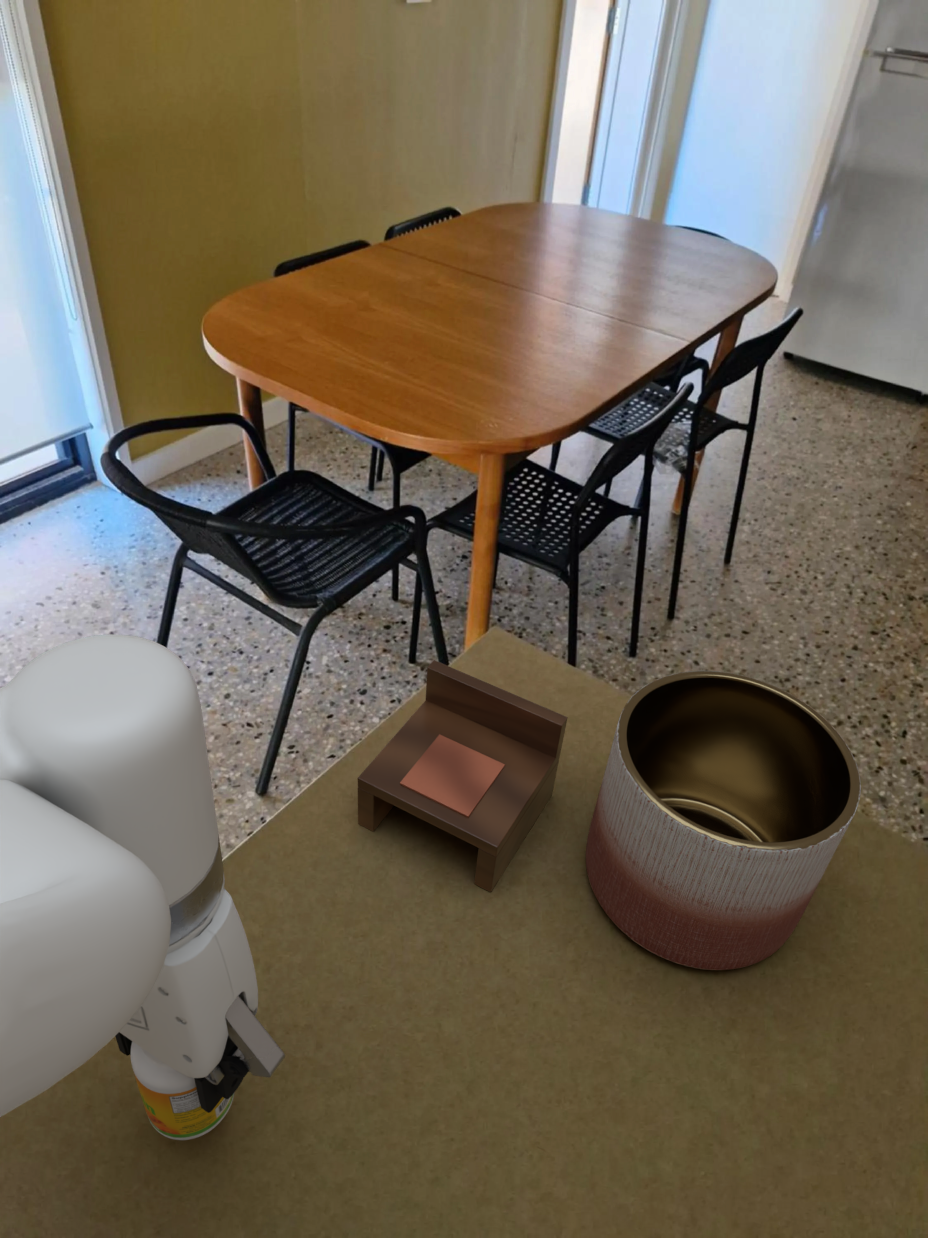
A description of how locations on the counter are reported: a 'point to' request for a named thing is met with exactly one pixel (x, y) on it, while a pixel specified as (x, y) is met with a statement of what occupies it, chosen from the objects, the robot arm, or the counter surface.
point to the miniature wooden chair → (468, 767)
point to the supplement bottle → (173, 1098)
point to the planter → (717, 817)
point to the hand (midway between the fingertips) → (182, 1059)
